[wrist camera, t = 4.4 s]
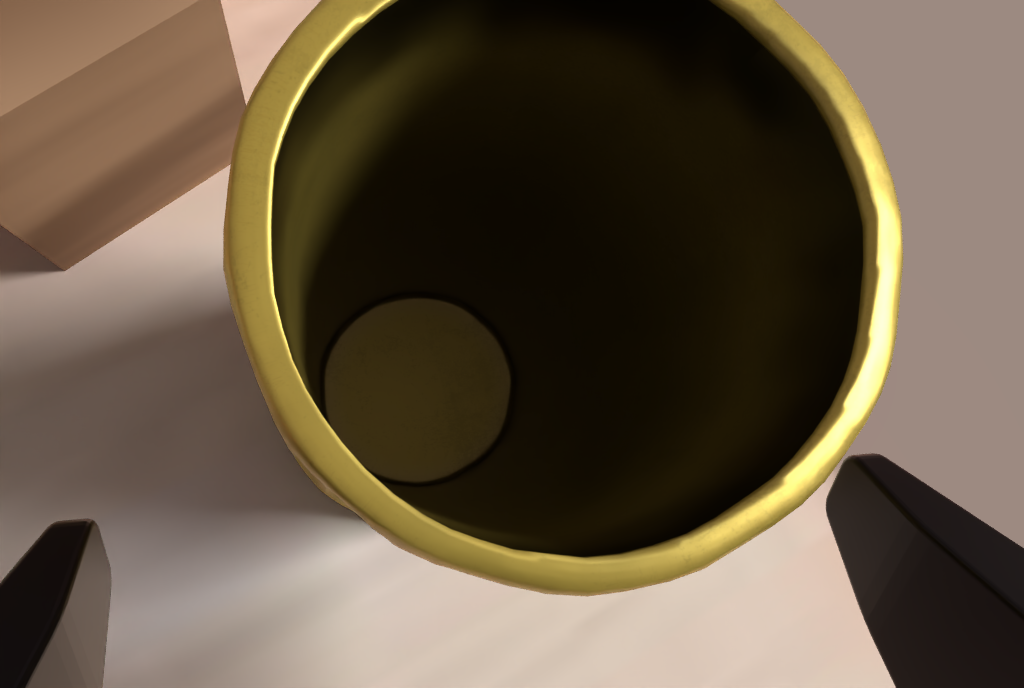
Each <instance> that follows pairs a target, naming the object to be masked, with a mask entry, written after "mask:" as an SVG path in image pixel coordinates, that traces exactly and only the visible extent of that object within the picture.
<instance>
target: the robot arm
mask: <svg viewBox="0 0 1024 688" xmlns="http://www.w3.org/2000/svg"><path fill="white" fill-rule="evenodd" d="M826 513H827V517H828V520H829V523H830V526H831V529H832V531H833V534H834V537H835V540H836V543H837V546H838V548H839V551H840V554H841V557H842V560H843V562H844V565H845V568H846V571H847V574H848V577H849V579H850V582H851V585H852V588H853V591H854V593H855V596H856V599H857V602H858V605H859V607H860V610H861V612H862V615H863V617H864V620H865V622H866V625H867V627H868V629H869V631H870V634H871V636H872V638H873V640H874V643H875V645H876V647H877V649H878V651H879V653H880V655H881V657H882V659H883V661H884V664H885V666H886V668H887V670H888V672H889V674H890V676H891V678H892V680H893V682H894V685H895V687H896V688H1024V548H1022V547H1021V546H1019V545H1018V544H1016V543H1015V542H1013V541H1012V540H1010V539H1009V538H1007V537H1006V536H1004V535H1003V534H1001V533H1000V532H998V531H997V530H995V529H994V528H992V527H991V526H989V525H988V524H986V523H984V522H983V521H981V520H980V519H978V518H977V517H975V516H974V515H972V514H971V513H969V512H968V511H966V510H965V509H963V508H962V507H960V506H959V505H957V504H955V503H954V502H953V501H951V500H950V499H948V498H946V497H945V496H943V495H942V494H940V493H939V492H937V491H936V490H934V489H933V488H931V487H930V486H928V485H927V484H925V483H924V482H922V481H921V480H919V479H918V478H916V477H915V476H913V475H912V474H910V473H908V472H907V471H905V470H904V469H902V468H901V467H899V466H898V465H896V464H895V463H893V462H892V461H890V460H889V459H887V458H886V457H884V456H882V455H880V454H873V453H872V454H860V455H851V456H848V457H847V458H846V459H845V460H844V461H843V463H842V465H841V467H840V469H839V471H838V474H837V476H836V478H835V480H834V482H833V485H832V487H831V489H830V491H829V493H828V496H827V499H826ZM110 595H111V570H110V564H109V561H108V558H107V554H106V551H105V548H104V544H103V541H102V538H101V534H100V531H99V528H98V525H97V524H96V523H95V521H94V520H92V519H78V520H66V521H58V522H55V523H53V524H51V525H50V526H49V527H48V528H47V529H46V530H45V531H44V532H43V533H42V535H41V536H40V537H39V538H38V539H37V540H36V542H35V543H34V544H33V545H32V546H31V547H30V549H29V550H28V551H27V552H26V553H25V555H24V556H23V557H22V558H21V559H20V560H19V562H18V563H17V564H16V565H15V566H14V567H13V569H12V570H11V571H10V572H9V573H8V574H7V576H6V577H5V578H4V579H3V580H2V581H1V583H0V688H102V686H103V675H104V664H105V652H106V641H107V629H108V618H109V607H110Z"/></svg>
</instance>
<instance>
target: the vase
mask: <svg viewBox="0 0 1024 688" xmlns="http://www.w3.org/2000/svg"><path fill="white" fill-rule="evenodd" d="M902 267H903V245H902V220H901V214H900V209H899V205H898V200H897V197H896V191H895V187H894V182H893V179H892V176H891V173H890V170H889V167H888V164H887V161H886V159H885V155H884V152H883V149H882V146H881V144H880V142H879V140H878V137H877V135H876V133H875V131H874V129H873V127H872V124H871V122H870V120H869V118H868V116H867V114H866V111H865V109H864V107H863V105H862V104H861V102H860V100H859V99H858V97H857V95H856V94H855V92H854V90H853V89H852V87H851V85H850V84H849V82H848V80H847V79H846V77H845V75H844V74H843V72H842V71H841V70H840V69H839V67H838V66H837V65H836V64H835V62H834V61H833V60H832V59H831V57H830V56H829V55H828V54H827V52H826V51H825V50H824V49H823V47H822V46H821V45H820V44H819V43H818V42H817V41H816V40H815V39H814V38H813V37H812V36H811V35H810V34H809V33H808V32H807V31H806V30H805V29H804V28H803V27H802V26H801V25H800V24H799V23H798V22H797V21H796V20H795V19H794V18H793V17H792V16H791V15H790V14H788V13H787V12H786V11H785V10H784V9H783V8H782V7H781V6H780V5H779V4H778V3H777V2H776V1H775V0H321V1H320V2H319V3H318V4H317V6H316V7H315V8H314V9H313V10H312V11H311V12H310V13H309V14H308V15H307V16H306V18H305V19H304V20H303V21H302V22H301V23H300V24H299V25H298V26H297V27H296V28H295V30H294V31H293V32H292V34H291V35H290V36H289V38H288V39H287V40H286V42H285V43H284V44H283V46H282V47H281V48H280V50H279V51H278V52H277V54H276V55H275V56H274V58H273V59H272V60H271V62H270V64H269V65H268V67H267V69H266V70H265V72H264V74H263V75H262V77H261V79H260V80H259V82H258V84H257V85H256V87H255V89H254V91H253V93H252V95H251V97H250V99H249V101H248V103H247V106H246V108H245V110H244V112H243V114H242V116H241V119H240V123H239V127H238V131H237V135H236V139H235V143H234V148H233V152H232V159H231V167H230V175H229V183H228V191H227V202H226V211H225V221H224V258H223V268H224V274H225V279H226V284H227V288H228V293H229V298H230V303H231V307H232V310H233V313H234V316H235V319H236V322H237V325H238V328H239V331H240V334H241V338H242V341H243V344H244V346H245V349H246V352H247V355H248V357H249V360H250V363H251V366H252V369H253V371H254V374H255V377H256V380H257V382H258V385H259V387H260V390H261V392H262V394H263V397H264V399H265V401H266V404H267V406H268V408H269V411H270V413H271V416H272V419H273V421H274V423H275V425H276V427H277V429H278V430H279V432H280V434H281V436H282V438H283V440H284V441H285V443H286V445H287V447H288V449H289V451H291V452H292V453H293V455H294V457H295V459H296V460H297V462H298V463H299V465H300V466H301V468H302V469H303V470H304V472H305V473H306V474H307V475H308V477H309V478H310V479H311V480H312V482H313V483H314V484H315V485H316V486H317V487H318V488H319V490H320V491H322V492H323V493H324V494H326V495H327V496H329V497H330V498H331V499H333V500H334V501H336V502H337V503H339V504H341V505H342V506H344V507H346V508H348V509H350V510H352V511H354V512H355V513H356V514H357V515H358V516H360V517H361V518H362V519H363V520H364V521H365V522H366V523H367V524H368V525H369V526H370V527H371V528H373V529H374V530H375V531H377V532H378V533H380V534H381V535H382V536H384V537H385V538H386V539H387V540H389V541H390V542H391V543H392V544H394V545H395V546H397V547H399V548H401V549H403V550H405V551H407V552H409V553H412V554H414V555H416V556H418V557H420V558H423V559H425V560H427V561H429V562H432V563H434V564H436V565H440V566H444V567H447V568H451V569H454V570H457V571H460V572H463V573H466V574H470V575H473V576H476V577H480V578H483V579H487V580H490V581H493V582H497V583H500V584H504V585H507V586H512V587H517V588H521V589H526V590H531V591H536V592H540V593H544V594H556V595H572V596H594V595H601V594H609V593H617V592H624V591H629V590H634V589H638V588H642V587H646V586H651V585H655V584H660V583H664V582H669V581H672V580H674V579H677V578H680V577H683V576H685V575H688V574H691V573H694V572H697V571H700V570H702V569H704V568H706V567H708V566H709V565H711V564H713V563H714V562H716V561H717V560H719V559H721V558H722V557H724V556H726V555H727V554H729V553H731V552H732V551H734V550H735V549H737V548H739V547H740V546H742V545H743V544H745V543H747V542H748V541H750V540H751V539H753V538H754V537H756V536H758V535H759V534H761V533H762V532H764V531H766V530H767V529H769V528H770V527H772V526H773V525H775V524H776V523H777V522H779V521H780V520H781V519H783V518H784V517H786V516H787V515H788V514H790V513H791V512H792V511H794V510H795V509H796V508H798V507H799V506H801V505H802V504H803V503H804V502H805V501H806V500H807V499H808V498H809V497H810V496H811V495H812V494H813V493H814V492H815V491H816V490H817V489H818V488H819V487H820V486H821V485H822V484H823V483H824V482H825V480H826V479H827V478H828V476H829V475H830V474H831V472H832V471H833V470H834V468H835V467H836V466H837V464H838V463H839V462H840V460H841V459H842V457H843V456H844V455H845V453H846V452H847V450H848V449H849V447H850V446H851V444H852V443H853V441H854V440H855V438H856V436H857V435H858V434H859V432H860V431H861V429H862V428H863V426H864V425H865V423H866V422H867V420H868V418H869V416H870V414H871V412H872V410H873V408H874V406H875V405H876V403H877V401H878V399H879V397H880V395H881V393H882V390H883V387H884V384H885V381H886V379H887V376H888V373H889V370H890V367H891V362H892V356H893V351H894V346H895V340H896V333H897V322H898V312H899V302H900V291H901V278H902Z"/></svg>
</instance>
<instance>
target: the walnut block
mask: <svg viewBox="0 0 1024 688" xmlns="http://www.w3.org/2000/svg"><path fill="white" fill-rule="evenodd" d="M245 108H246V104H245V100H244V95H243V91H242V87H241V83H240V79H239V75H238V71H237V67H236V62H235V58H234V54H233V50H232V46H231V42H230V38H229V34H228V29H227V25H226V21H225V17H224V13H223V9H222V5H221V0H0V225H1V226H2V227H4V228H5V229H7V230H8V231H9V232H11V233H12V234H14V235H15V236H16V237H18V238H19V239H21V240H22V241H23V242H25V243H26V244H28V245H29V246H30V247H32V248H33V249H35V250H36V251H37V252H39V253H40V254H42V255H43V256H44V257H46V258H47V259H49V260H50V261H51V262H53V263H54V264H56V265H57V266H58V267H60V268H61V269H62V270H64V271H65V270H67V269H69V268H70V267H72V266H73V265H75V264H76V263H78V262H79V261H81V260H83V259H84V258H86V257H87V256H89V255H90V254H92V253H93V252H95V251H96V250H98V249H100V248H101V247H103V246H104V245H106V244H107V243H109V242H110V241H112V240H114V239H115V238H117V237H118V236H120V235H121V234H123V233H124V232H126V231H128V230H129V229H131V228H132V227H134V226H135V225H137V224H138V223H140V222H141V221H143V220H145V219H146V218H148V217H149V216H151V215H152V214H154V213H155V212H157V211H159V210H160V209H162V208H163V207H165V206H166V205H168V204H169V203H171V202H173V201H174V200H176V199H177V198H179V197H180V196H182V195H183V194H185V193H186V192H188V191H190V190H191V189H193V188H194V187H196V186H197V185H199V184H200V183H202V182H204V181H205V180H207V179H208V178H210V177H211V176H213V175H214V174H216V173H218V172H219V171H221V170H222V169H224V168H225V167H227V166H228V165H230V164H231V159H232V152H233V148H234V143H235V139H236V135H237V131H238V127H239V123H240V119H241V116H242V114H243V112H244V110H245Z"/></svg>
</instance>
